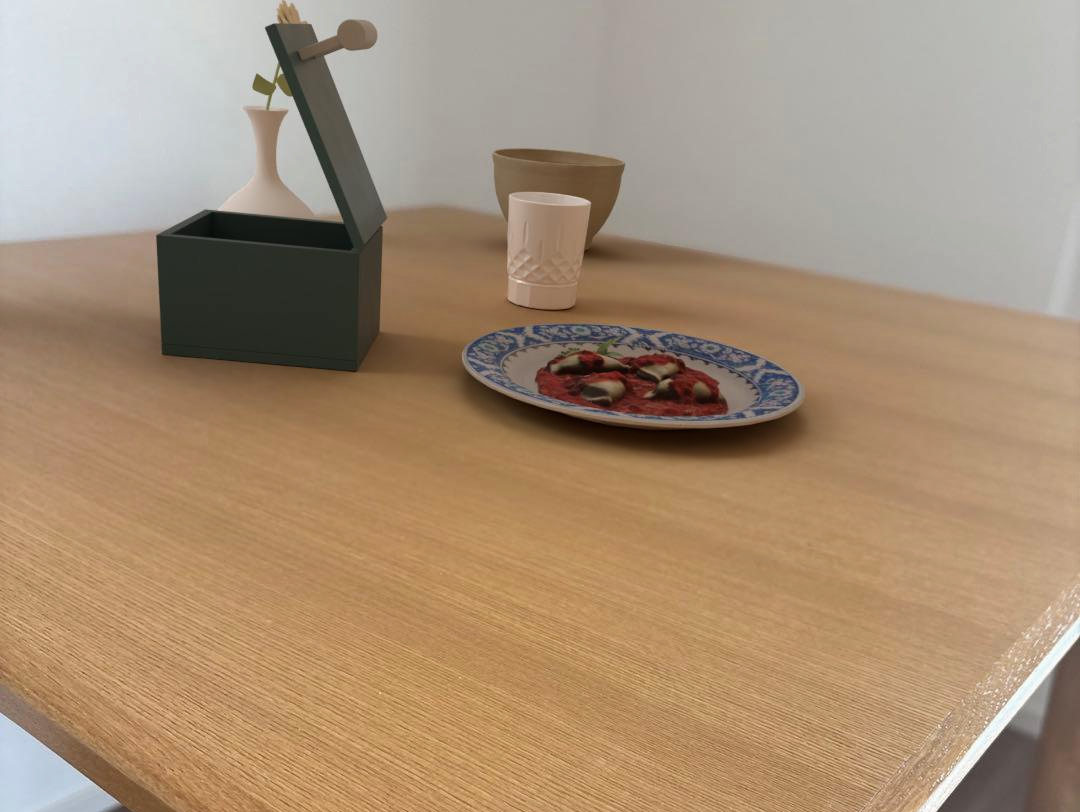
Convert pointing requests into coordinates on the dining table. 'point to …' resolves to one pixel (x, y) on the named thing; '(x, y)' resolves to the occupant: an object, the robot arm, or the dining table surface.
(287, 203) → the flower in vase
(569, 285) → the white cup
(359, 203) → the lid
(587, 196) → the planter bowl
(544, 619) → the dining table surface
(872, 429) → the dining table surface
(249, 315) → the chest
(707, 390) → the ceramic plate
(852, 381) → the dining table surface
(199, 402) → the dining table surface
